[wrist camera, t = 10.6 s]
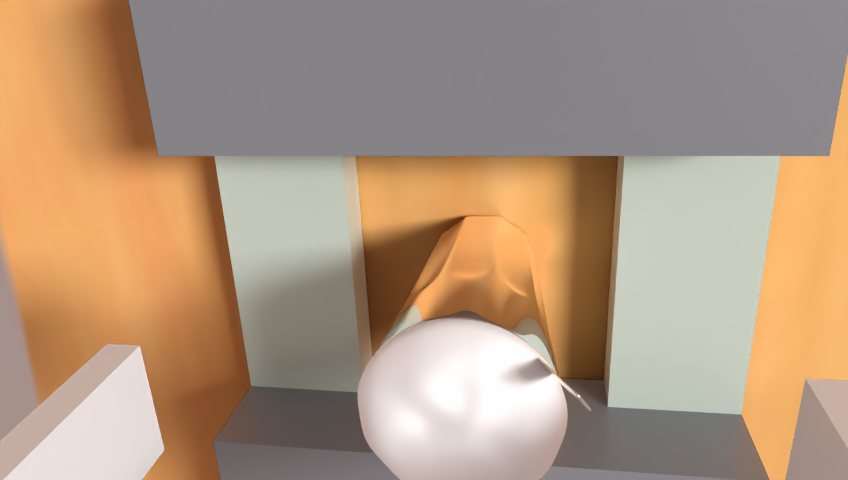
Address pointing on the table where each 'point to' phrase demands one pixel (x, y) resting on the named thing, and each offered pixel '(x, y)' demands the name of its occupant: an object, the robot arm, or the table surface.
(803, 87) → the frame
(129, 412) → the robot arm
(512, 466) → the milkshake
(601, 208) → the table surface
